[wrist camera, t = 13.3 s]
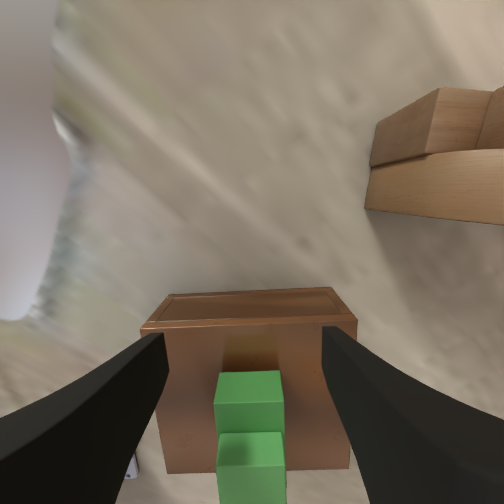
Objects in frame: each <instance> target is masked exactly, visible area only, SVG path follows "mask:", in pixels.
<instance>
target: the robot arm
mask: <svg viewBox="0 0 504 504" xmlns="http://www.w3.org/2000/svg"><path fill="white" fill-rule="evenodd" d="M321 366H322V370H323V374H324V377H325V381H326V384H327V388H328V390H329V393H330V395H331V398H332V400H333V403H334V405H335V407H336V410H337V412H338V415H339V417H340V419H341V422H342V424H343V427H344V429H345V432H346V434H347V436H348V439H349V441H350V444H351V446H352V449H353V452H354V454H355V457H356V460H357V463H358V466H359V469H360V473H361V476H362V479H363V482H364V485H365V488H366V491H367V495H368V498H369V501H370V504H504V420H503V419H500V418H498V417H495V416H493V415H490V414H488V413H485V412H483V411H480V410H478V409H476V408H473V407H471V406H469V405H467V404H464V403H462V402H460V401H457V400H455V399H453V398H451V397H449V396H447V395H445V394H443V393H441V392H439V391H437V390H435V389H433V388H431V387H429V386H427V385H425V384H423V383H421V382H419V381H417V380H416V379H414V378H412V377H410V376H408V375H407V374H405V373H403V372H402V371H400V370H398V369H397V368H395V367H393V366H392V365H390V364H389V363H387V362H386V361H384V360H382V359H381V358H379V357H378V356H377V355H375V354H374V353H372V352H371V351H369V350H368V349H367V348H365V347H364V346H362V345H361V344H360V343H358V342H357V341H356V340H354V339H353V338H352V337H350V336H349V335H348V334H346V333H345V332H344V331H342V330H341V329H340V328H338V327H337V326H322V356H321ZM169 371H170V369H169V363H168V357H167V350H166V344H165V338H164V332H159V333H149V334H148V335H146V336H144V337H143V338H141V339H140V340H138V341H137V342H135V343H134V344H132V345H131V346H129V347H128V348H126V349H125V350H123V351H122V352H120V353H119V354H117V355H116V356H114V357H113V358H111V359H110V360H108V361H107V362H105V363H104V364H102V365H100V366H99V367H97V368H96V369H94V370H92V371H91V372H89V373H88V374H86V375H84V376H83V377H81V378H79V379H78V380H76V381H74V382H72V383H71V384H69V385H67V386H65V387H63V388H61V389H60V390H58V391H56V392H54V393H52V394H50V395H48V396H46V397H44V398H42V399H40V400H38V401H36V402H34V403H32V404H30V405H27V406H25V407H23V408H21V409H19V410H17V411H15V412H13V413H11V414H8V415H6V416H4V417H1V418H0V504H115V502H116V499H117V496H118V493H119V491H120V488H121V485H122V483H123V480H124V479H134V478H136V477H137V476H138V473H139V472H138V467H137V463H136V458H135V454H134V452H135V450H136V448H137V446H138V444H139V442H140V439H141V437H142V435H143V433H144V431H145V429H146V427H147V425H148V423H149V421H150V418H151V416H152V414H153V412H154V410H155V408H156V406H157V404H158V401H159V399H160V397H161V395H162V392H163V390H164V387H165V384H166V381H167V378H168V374H169Z"/></svg>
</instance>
